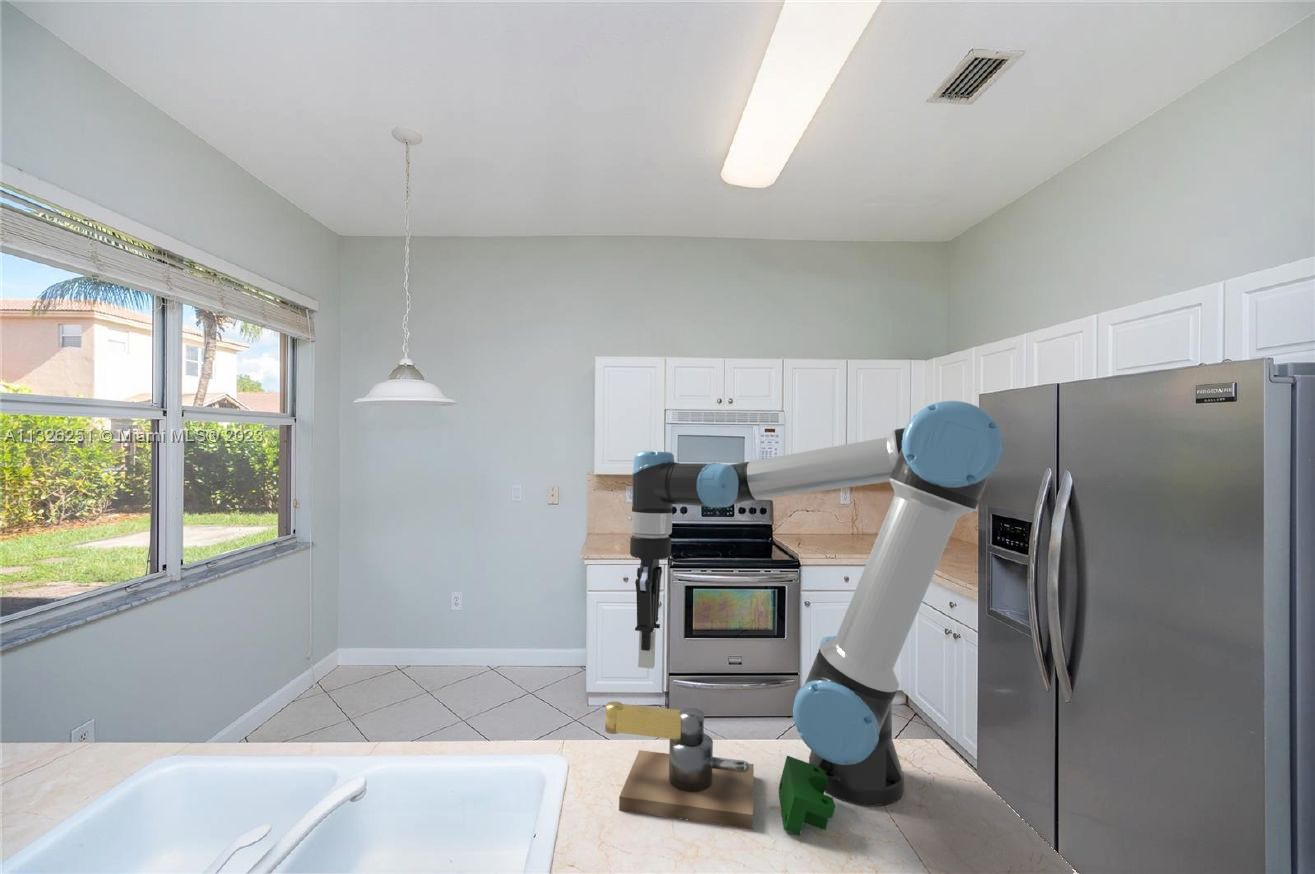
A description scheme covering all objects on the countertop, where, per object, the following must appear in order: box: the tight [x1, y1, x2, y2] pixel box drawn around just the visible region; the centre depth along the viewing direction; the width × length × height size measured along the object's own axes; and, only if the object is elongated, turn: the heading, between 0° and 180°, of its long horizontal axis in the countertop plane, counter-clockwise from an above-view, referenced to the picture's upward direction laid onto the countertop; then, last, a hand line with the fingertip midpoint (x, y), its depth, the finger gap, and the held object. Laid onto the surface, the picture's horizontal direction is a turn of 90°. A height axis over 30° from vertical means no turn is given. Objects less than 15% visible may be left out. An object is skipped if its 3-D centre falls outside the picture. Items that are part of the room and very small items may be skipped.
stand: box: [618, 749, 755, 830], centre depth 86 cm, size 20×14×2 cm
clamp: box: [778, 755, 836, 836], centre depth 81 cm, size 12×6×9 cm, turn 166°
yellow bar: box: [604, 701, 705, 745], centre depth 88 cm, size 16×4×4 cm, turn 79°
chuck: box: [668, 733, 750, 792], centre depth 86 cm, size 13×7×6 cm, turn 79°
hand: (646, 666), depth 97 cm, fingers closed
